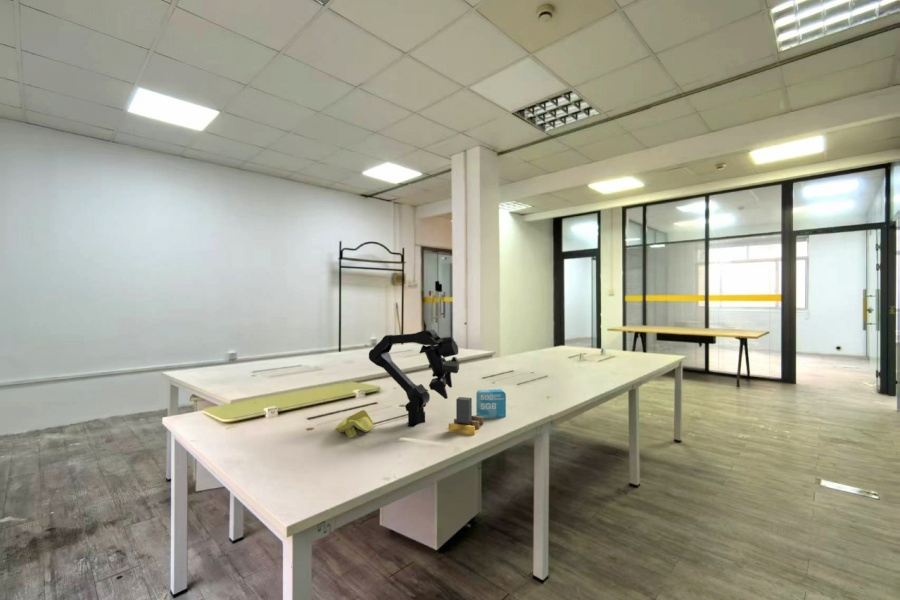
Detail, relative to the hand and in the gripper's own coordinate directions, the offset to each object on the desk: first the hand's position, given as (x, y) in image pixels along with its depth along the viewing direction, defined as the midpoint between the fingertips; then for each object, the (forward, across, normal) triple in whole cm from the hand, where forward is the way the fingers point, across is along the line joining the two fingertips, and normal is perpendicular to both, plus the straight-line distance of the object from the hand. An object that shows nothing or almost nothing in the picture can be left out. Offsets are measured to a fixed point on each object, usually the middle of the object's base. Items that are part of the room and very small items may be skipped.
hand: (448, 392), depth 156 cm
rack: (+12, -11, -5) cm, 17 cm away
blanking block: (+10, -13, -5) cm, 17 cm away
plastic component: (-3, -21, +35) cm, 41 cm away
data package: (+19, +6, -11) cm, 23 cm away
